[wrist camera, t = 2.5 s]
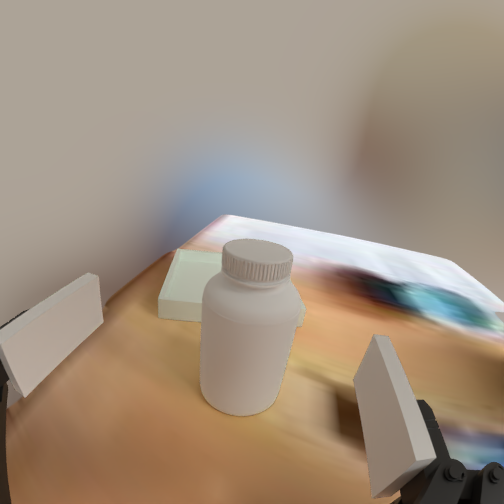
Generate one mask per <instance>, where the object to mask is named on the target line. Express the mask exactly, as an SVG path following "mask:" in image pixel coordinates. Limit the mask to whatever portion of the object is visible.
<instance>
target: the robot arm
mask: <svg viewBox="0 0 504 504" xmlns="http://www.w3.org/2000/svg"><path fill="white" fill-rule="evenodd" d="M103 322H104V321H103V314H102V306H101V297H100V287H99V276H97V275H94V274H91V273H86V274H84V275H83V276H81V277H79V278H78V279H76V280H74V281H73V282H71V283H70V284H68V285H66V286H65V287H63V288H62V289H60V290H59V291H57V292H55V293H54V294H52V295H51V296H49V297H48V298H46V299H44V300H43V301H41V302H40V303H38V304H37V305H35V306H34V307H32V308H31V309H28V310H26V311H23V312H21V313H20V314H19V315H17V316H16V317H15V318H13V319H11V320H10V321H9V322H7V323H6V324H4V325H3V326H1V327H0V504H11V499H10V492H9V485H8V476H7V464H6V408H7V395H8V385H7V383H6V382H7V381H8V380H9V379H10V381H11V383H12V385H13V387H14V389H15V390H16V391H17V392H18V393H20V394H21V395H22V396H23V397H25V398H26V396H27V395H28V394H29V393H30V392H31V391H32V390H33V389H34V388H35V387H36V386H37V385H38V384H39V383H40V382H41V381H42V380H43V379H44V378H45V377H46V376H47V375H48V374H49V373H50V372H51V371H52V370H53V369H54V368H55V367H56V366H57V365H59V364H60V363H61V362H62V361H63V360H64V359H65V358H66V357H67V356H68V355H69V354H70V353H71V352H72V351H73V350H74V349H75V348H76V347H77V346H78V345H79V344H81V343H82V342H83V341H84V340H85V339H86V338H87V337H88V336H89V335H90V334H91V333H92V332H93V331H95V330H96V329H97V328H98V327H99V326H100V325H101V324H102V323H103ZM353 381H354V386H355V391H356V396H357V401H358V406H359V412H360V417H361V423H362V429H363V435H364V441H365V448H366V454H367V461H368V469H369V477H370V485H371V495H372V498H381V497H388V496H392V495H393V494H394V493H396V492H397V491H398V490H400V493H401V496H400V497H399V498H398V499H396V500H395V501H393V502H392V503H390V504H504V467H503V466H502V465H501V464H499V463H497V462H491V463H489V464H487V465H486V466H485V467H484V468H483V469H482V470H481V471H480V470H466V468H465V467H464V465H463V464H462V463H461V462H459V461H458V460H455V459H451V458H450V456H449V453H448V450H447V447H446V445H445V442H444V439H443V437H442V434H441V431H440V429H438V427H439V426H438V424H437V421H435V416H434V414H433V411H432V409H431V408H430V406H429V405H428V404H427V403H426V402H425V401H424V400H416V398H415V396H414V393H413V391H412V388H411V386H410V383H409V381H408V379H407V376H406V374H405V372H404V369H403V367H402V365H401V362H400V360H399V358H398V356H397V354H396V351H395V349H394V347H393V345H392V343H391V340H390V338H389V336H383V335H375V334H374V335H373V337H372V340H371V342H370V344H369V347H368V349H367V351H366V353H365V356H364V358H363V360H362V362H361V364H360V366H359V368H358V371H357V373H356V375H355V377H354V379H353Z"/></svg>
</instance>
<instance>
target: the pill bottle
mask: <svg viewBox="0 0 504 504" xmlns="http://www.w3.org/2000/svg"><path fill="white" fill-rule="evenodd" d="M292 262H293V255H292V252H291V251H290V250H289V249H287V248H286V247H284V246H282V245H279V244H276V243H273V242H269V241H263V240H256V239H238V240H233V241H230V242H228V243H226V244H225V245H224V247H223V251H222V268H221V272H219V273H218V274H216V275H214V276H213V277H212V278H211V279H210V280H209V281H208V282H207V284H206V286H205V289H204V291H203V296H202V315H201V343H200V388H201V392H202V394H203V396H204V398H205V399H206V401H207V402H208V403H209V404H210V405H211V406H213V407H214V408H215V409H217V410H219V411H221V412H223V413H226V414H229V415H234V416H250V415H255V414H258V413H260V412H263V411H264V410H266V409H267V408H269V407H270V406H271V405H272V404H273V403H274V401H275V400H276V398H277V395H278V393H279V390H280V386H281V383H282V379H283V376H284V372H285V369H286V365H287V361H288V358H289V354H290V350H291V346H292V343H293V339H294V335H295V331H296V327H297V323H298V319H299V315H300V310H301V300H300V295H299V293H298V291H297V289H296V288H295V286H294V285H293V284H292V283H291V282H290V273H291V268H292Z"/></svg>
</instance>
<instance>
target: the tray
mask: <svg viewBox="0 0 504 504" xmlns="http://www.w3.org/2000/svg"><path fill="white" fill-rule="evenodd" d="M221 268H222V253H220V252H208V251H197V250H186V249H177V251H176V254H175V256H174V259H173V261H172V263H171V266H170V268H169V271H168V274H167V276H166V279H165V281H164V284H163V286H162V289H161V292H160V294H159V297H158V318H163V319H172V320H182V321H193V322H201V315H202V296H203V291H204V289H205V286H206V284H207V282H208V281H209V280H210V279H211V278H212V277H213V276H214V275H216V274H218V273H219V272H221ZM290 282H291V280H290ZM291 283H292V282H291ZM300 300H301V298H300ZM305 313H306V307H305V306H304V304H303V302H302V300H301V310H300V315H299V319H298V323H297V327H302V324H303V320H304V317H305Z"/></svg>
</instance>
